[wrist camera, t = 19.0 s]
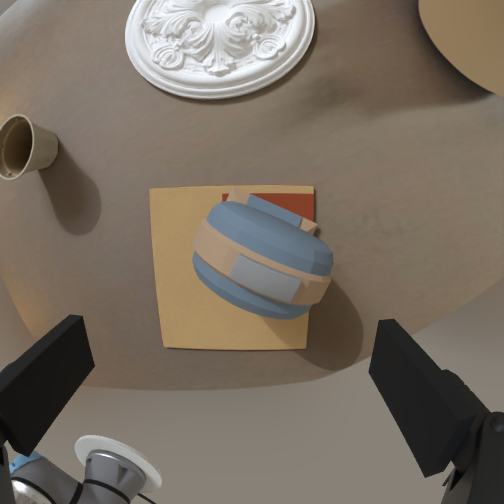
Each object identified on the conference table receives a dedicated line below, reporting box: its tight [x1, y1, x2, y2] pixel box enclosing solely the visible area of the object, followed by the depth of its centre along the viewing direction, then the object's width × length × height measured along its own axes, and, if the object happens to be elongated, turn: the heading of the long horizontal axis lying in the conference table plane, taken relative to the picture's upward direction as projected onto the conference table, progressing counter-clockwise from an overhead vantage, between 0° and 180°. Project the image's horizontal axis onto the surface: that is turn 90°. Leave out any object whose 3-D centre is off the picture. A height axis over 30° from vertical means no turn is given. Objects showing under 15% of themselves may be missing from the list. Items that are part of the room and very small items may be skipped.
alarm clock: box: [192, 186, 333, 320], centre depth 32 cm, size 14×10×18 cm
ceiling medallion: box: [125, 0, 315, 100], centre depth 32 cm, size 28×28×3 cm
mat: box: [150, 185, 314, 350], centre depth 42 cm, size 24×22×1 cm
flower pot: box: [0, 114, 58, 181], centre depth 34 cm, size 9×9×9 cm
